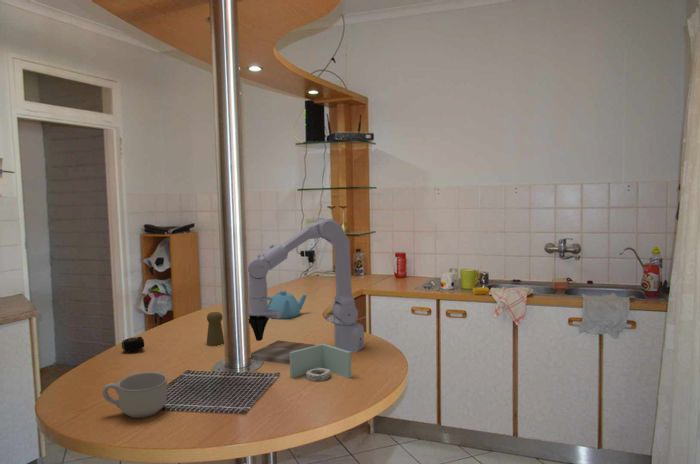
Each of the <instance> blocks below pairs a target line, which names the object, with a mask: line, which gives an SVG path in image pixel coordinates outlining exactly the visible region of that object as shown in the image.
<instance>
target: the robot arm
mask: <svg viewBox="0 0 700 464" xmlns="http://www.w3.org/2000/svg"><path fill="white" fill-rule="evenodd" d="M311 239H312V240H313V239H324V240H326V241H327V242H328V243H329V244H331V245H332V246H333V248H334V249H333V251H334V273H335V274H334V275H335V276H334V277H335V296H334V301H333V302H334V303H333V304H332V305H333V306H332V309H331V310H332V315H333V316H334V320H333V325H334V327H333V329H334V331H333V333H334V346H333V347H336V348H340V349H343V350H346V351H350V352H351V353H357V352H359V351H360V350H362V349H363V348H365V347H364V346H365V328H364V325H363V324H360V323H358V322H357V320H358V318H359V312H358V309H357V307H356V303H355V302H356V301H355V298H354V296H353V291H352V269H351V266H352V265H351V243H350V239H349V237H348V236H347V234H346V233H345V231H344V229H343V228H342V226H341V224H340V223H338V222H337V221H336V220H334V219H333V218H325V217H324V218H318V219H316V220H315V221H313V222H311V223H308V224H307V225H306V226H305V227H303V228H302V229H300V230H299V231H298V232H297V233H296V234H294V235H293V236H291V237H290V238H289V239H288V240H286V241H284V242H283V243H282V244H281V243H274V244H273V243H272V244H270V245H269V246H268V249H267V250H265V251H264V252H262V253H258V254H257V255H256V256H257V258H256V257H255V258H252V259H250V261H248V263H247V265H248V272H249V273H248V272H247V273H248V278H249V280H248V283H249V289H248V310H249V317H248V318H249V319H248V320H249V322H248V324H249V325H250V327H251V328H252V331H253V334H254V337H255V341H256V342H257V341H258V342H260V341H262V340H263V337H264V332H265V329H266V326H267V324H268V322H269V320H270V319H271V318H272V319H275V318H281V317H282V313H281V311H275V310H268V304H269V303H268V300H267V297H268V282H267V275H268V273H269V270H273V269H274V268H276V267H277V266H279V265H280V264H281V263H282V262H284V261H286V259H288V254H289V253H290V252H291V251H293V250H294V249H296V248H298V247H299V246H301V245H302V244H304V243H305V242H307V241H308V240H311Z"/></svg>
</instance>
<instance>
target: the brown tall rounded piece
mask: <svg viewBox="0 0 700 464" xmlns="http://www.w3.org/2000/svg"><path fill="white" fill-rule="evenodd" d="M206 320H207V322H208V324H207V327H208V328H207V335H206V336H207V337H206V346H208V347H219V346H218V345H220V346H222V345H221V344H223V345H224V344H225V338H224V333H223V326H222V320H223V314H222V313H221V312H220V311H212V312H209V313H208V314H207V315H206Z"/></svg>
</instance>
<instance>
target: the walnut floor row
mask: <svg viewBox="0 0 700 464" xmlns="http://www.w3.org/2000/svg"><path fill="white" fill-rule="evenodd" d="M315 345H316V344H311V343H304V342H295V341H294V342H293V341H288V340H287V341H284V340H276V341H273V342H272V343H270V344H268V345H266V346H272V347H280V348H288V349H296V350H300V349H304V348H308V347H311V346H315Z"/></svg>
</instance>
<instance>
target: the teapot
mask: <svg viewBox="0 0 700 464" xmlns="http://www.w3.org/2000/svg"><path fill="white" fill-rule="evenodd" d="M306 298H307V295H306V294H302V295H301V297H300V299H299V300H297V299H296V297H295V295H294V294H292V293H287V290H280V291H279V292H276V294H274V295H273V296H267V301H269V302H268V303H267V304H268V310H275V311H281V313H282V317H281V318H274V319H277V320H278V319H279V320H285V319H292V318H296V317H297V316H299V314H300V312H301V310H302V308H303V307H304V304H305V301H306Z"/></svg>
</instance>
